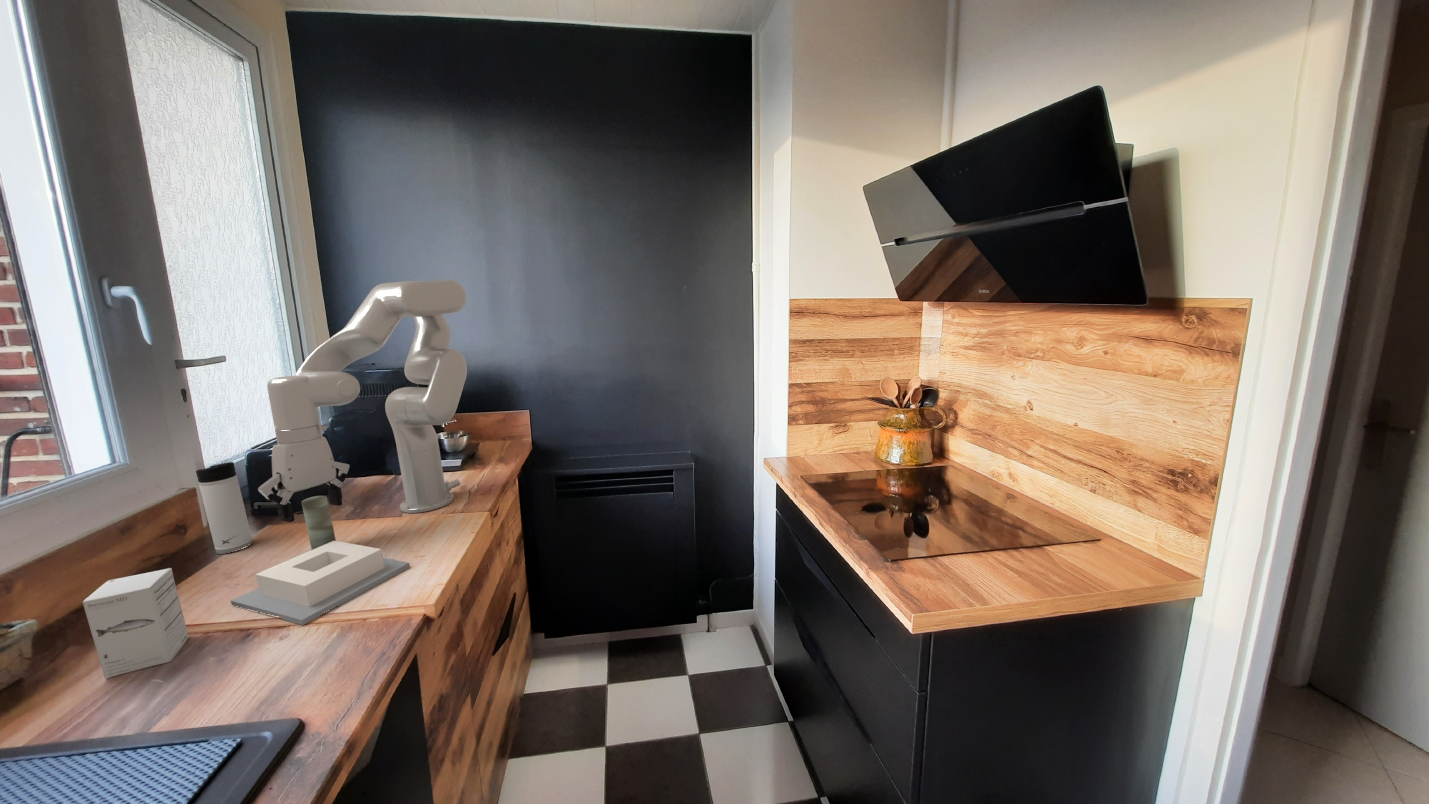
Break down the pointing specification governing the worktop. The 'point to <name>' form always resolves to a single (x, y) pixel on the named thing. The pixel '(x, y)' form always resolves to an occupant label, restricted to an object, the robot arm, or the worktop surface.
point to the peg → (318, 521)
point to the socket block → (318, 581)
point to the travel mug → (224, 507)
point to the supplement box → (136, 622)
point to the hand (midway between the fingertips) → (313, 512)
